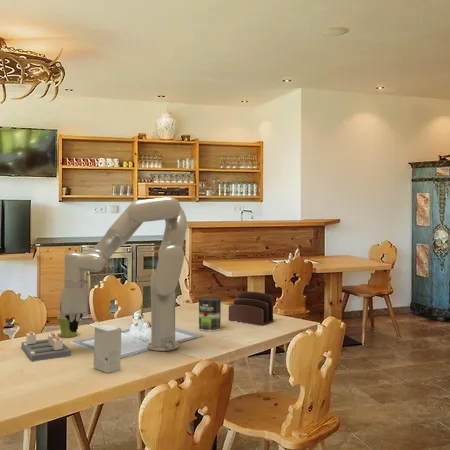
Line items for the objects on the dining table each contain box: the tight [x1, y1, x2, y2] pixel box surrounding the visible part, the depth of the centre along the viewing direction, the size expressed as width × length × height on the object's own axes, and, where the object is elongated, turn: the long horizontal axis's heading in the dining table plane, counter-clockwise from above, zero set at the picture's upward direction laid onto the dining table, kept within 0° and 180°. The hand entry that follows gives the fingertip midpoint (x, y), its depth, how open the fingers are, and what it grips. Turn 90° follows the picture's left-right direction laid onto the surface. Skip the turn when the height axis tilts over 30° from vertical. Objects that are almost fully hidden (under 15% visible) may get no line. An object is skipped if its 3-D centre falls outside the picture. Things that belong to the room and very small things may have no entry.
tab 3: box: [52, 336, 63, 350], centre depth 202 cm, size 4×3×4 cm
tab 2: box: [47, 332, 59, 346], centre depth 208 cm, size 4×3×4 cm
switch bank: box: [21, 338, 72, 362], centre depth 207 cm, size 22×14×2 cm, turn 30°
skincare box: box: [93, 324, 122, 374], centre depth 184 cm, size 8×6×15 cm
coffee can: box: [198, 296, 222, 332], centre depth 243 cm, size 10×10×14 cm
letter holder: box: [228, 291, 274, 327], centre depth 259 cm, size 10×20×14 cm, turn 56°
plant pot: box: [57, 314, 78, 338], centre depth 231 cm, size 9×9×9 cm
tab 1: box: [25, 330, 37, 344], centre depth 211 cm, size 4×3×4 cm
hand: (73, 331), depth 205 cm, fingers closed
